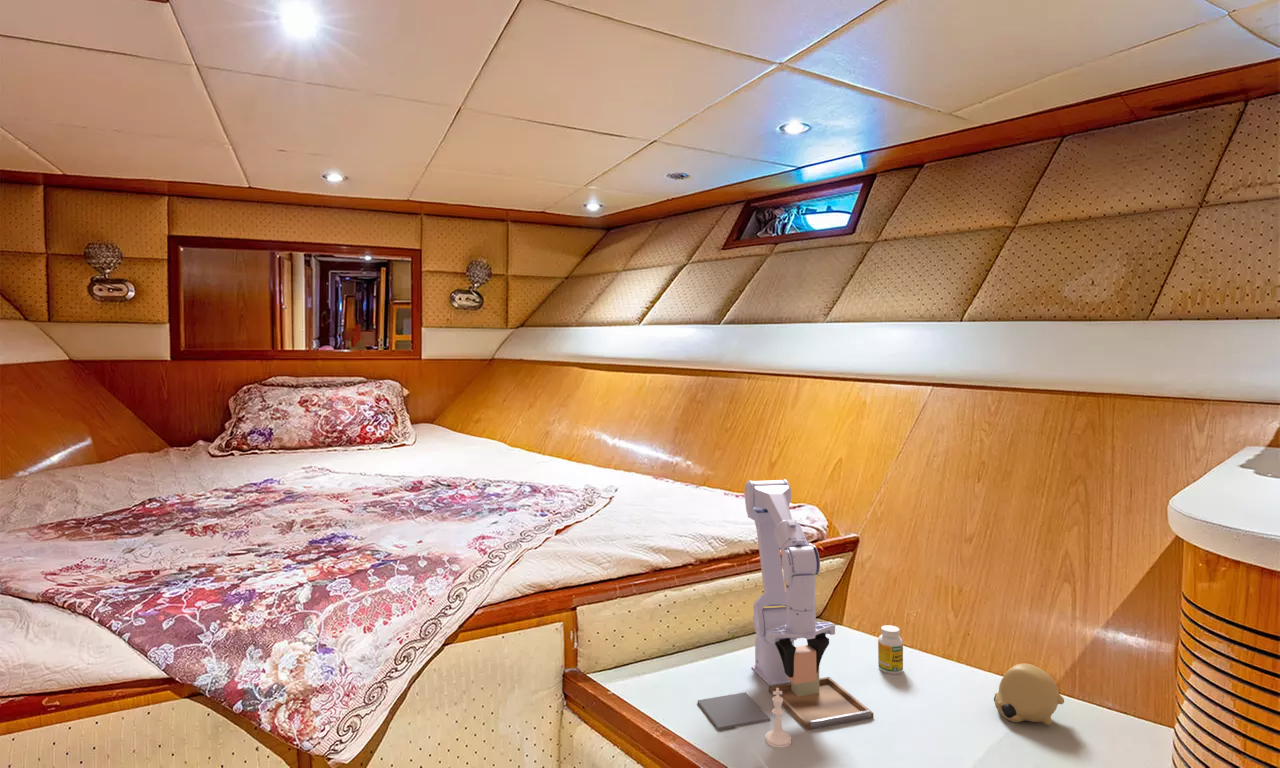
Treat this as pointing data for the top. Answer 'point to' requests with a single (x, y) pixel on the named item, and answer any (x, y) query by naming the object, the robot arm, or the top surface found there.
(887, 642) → the supplement bottle
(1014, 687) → the tan animal figurine
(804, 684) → the khaki rectangular block
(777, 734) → the chess piece
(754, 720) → the mat
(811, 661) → the salmon pink box
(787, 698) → the wooden serving tray
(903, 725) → the top surface
